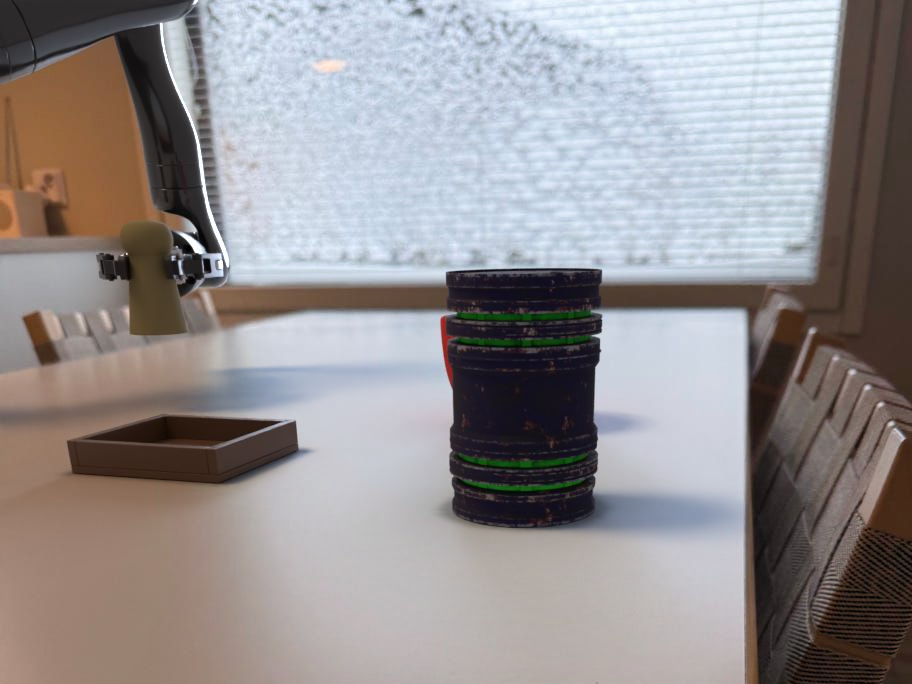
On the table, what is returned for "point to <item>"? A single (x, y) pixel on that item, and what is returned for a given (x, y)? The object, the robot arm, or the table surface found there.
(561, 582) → the table surface
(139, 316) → the olive green pepper mill
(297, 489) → the table surface
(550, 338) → the storage jar
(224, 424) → the serving tray
